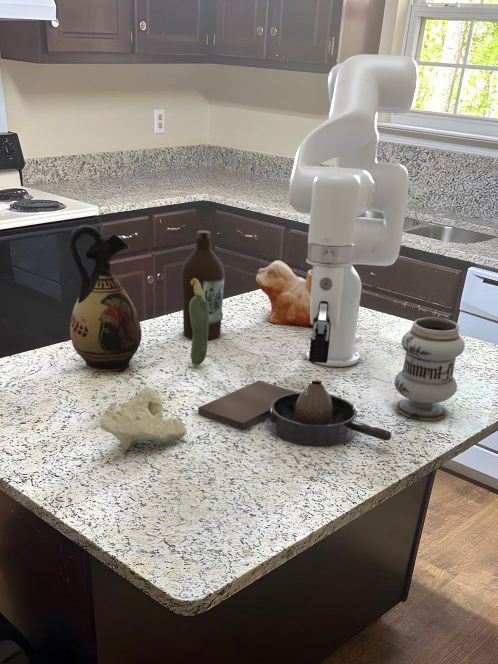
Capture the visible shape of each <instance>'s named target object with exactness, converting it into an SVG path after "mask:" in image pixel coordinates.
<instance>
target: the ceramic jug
mask: <svg viewBox="0 0 498 664" xmlns="http://www.w3.org/2000/svg"><path fill="white" fill-rule="evenodd" d="M87 236H88V237H92V238H93V239H94V242H93V243H92V244H91V245H90V247H89V248H88V250H87V252H86V254H85V257H86V258H87V259H89V260H93V261H94V264H93V268H92V271H91V272H90V274H89V273H88V270H87V269H86V266H85V265H84V262H83V260H82V257H81V253H80V251H79V246H78V243H79V240H80V239H81V238H84V237H87ZM130 248H131V247H130V246H129V245H128V244H127V243H126V242H125V241H124V240H123V239H122V238H121V237H119V236H118V235H117V234H115V233H114V232H113V231H111V232H110V233H109V234H108V235H107V236H106V237H105V238H104V237H103V236H102V234H101V232H100V231H99V229H97V228H96V227H94V226H92V225H88V224H80V225H78V226H76V227H74V229H72V231H71V234H70V237H69V249H70V250H69V251H70V253H71V256H72V259H73V262H74V264H75V267H76V269H77V272H78V274H79V276H80V280H81V282H80V285H79V293H78V298H77V300H76V302H75V304H74V306H73V310H72V313H71V317H70V327H69V334H70V340H71V344H72V347H73V349H74V351H75V352H76V353H77V355H79V357H81V359H82V360H83V361H84V362H85V368H86V369H88V370H90V371H94V372H98V373H103V374H113V373H114V374H115V373H116V374H118V373H119V374H120V373H124V372H125V371H126V370H127V369H129V368H130V366H131V365H130V362H131V361H132V359H133V357H134V356H135V355H136V353H137V352H138V350H139V347H140V345H141V340H142V335H143V334H142V328H141V327H142V326H141V323H140V318H139V314H138V312H137V309H136V307H135V305H134V303H133V301H132V299H131V298H130V296H129V295H128V293H127V292H126V290H125V288H124V287H123V285H122V284H121V283H120V281H119V280H118V278H117V277H116V276H115V274H114V273H113V271H112V268H111V260H112V259H113V258H114V257H115V256H117V255H119V254H121V253H123V252H125V251H127V250H129V249H130ZM67 372H68V371H67Z"/></svg>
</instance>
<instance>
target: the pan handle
mask: <svg viewBox="0 0 498 664" xmlns="http://www.w3.org/2000/svg"><path fill="white" fill-rule="evenodd" d="M349 428H350V429H351V430H354V431H355V432H357V433H360V434H363V435H367V436H369V437H371V438H375V439H378V440H381V441H383V442H386V441H387V442H388V441H389V440H391V439H392V433H391V431H390V430H387V429H384V428H380V427H378V426H374V425H371V424H368V423H365V422H361V421H358V420H356V421H355V420H352V421H351V422H350V423H349Z"/></svg>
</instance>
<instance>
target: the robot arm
mask: <svg viewBox="0 0 498 664" xmlns="http://www.w3.org/2000/svg"><path fill="white" fill-rule="evenodd" d="M419 77H420V75H419V68H418V63H417V62H416V60H415V59H413V58H412V57H410V56H408V55H398V54H367V53H365V54H356V55H352V56H350V57H348V58H346V59H345V60H344V61H342V62H340V63H337V64H335V65H334V66H333V67H332V68H331V69H330V71H329V73H328V78H327V93H328V100H329V105H330V106H329V107H330V109H329V114H328V119H326V120H324V121H323V122H322V123H320V124H319V125H318V126H316V127H315V128H314V129H313V130H312V131H310V132H309V134H308V135H307V136H306V137H305V138H303V140H302V141H301V143H300V145H299V146H298V148H297V151H296V154H295V156H294V160H293V164H292V165H293V166H292V170H291V173H290V178H289V179H290V180H289V187H288V201H289V204H290V207H291V208H292V209H293V210H294V211H295V212H298V213H300V214H307V215H309V222H308V223H309V224H308V237H307V245H306V246H307V247H306V249H307V250H306V257H305V258H306V259H305V262H306V263H307V265H308V264H309V265H310V266H312V269H313V271H312V283H311V297H310V323H311V324H312V325H313V328H312V335H311V338H310V344H309V348H308V349H307V350H306V353H305V357H306V359H307V360H308V362H310V363H314V364H317V365H320V366H326V367H335V368H336V367H337V368H338V367H340V368H341V367H349V366H353V365H356V364H357V363H358V362H360V357H361V356H360V353H358V352H357V351H356V350H355V346H356V345H357V344H359V343H361V342H362V337H361V335H359V334H357V328H358V327H357V326H358V319H359V312H360V305H361V296H362V288H363V287H362V286H363V285H362V281H361V277H360V275H359V273H358V272H357V271H356V269H355V268H354V266H353V265H366V266H375V267H377V266H378V267H379V266H380V267H388V266H392V265H393V264H395V263H396V261H397V260H398V258H399V255H400V251H401V246H402V241H403V240H402V239H403V232H404V225H405V217H406V209H407V203H408V197H409V188H410V187H409V185H410V181H409V180H410V179H409V173H408V170H407V168H406V167H405V166H404V165H402V164H400V163H396V162H382V161H377V153H378V144H379V140H380V139H379V138H380V136H379V131H378V129H377V119H378V113H379V114H407V113H409V112H410V111H411V110H412V108H413V106H414V105H415V102H416V99H417V96H418V91H419V79H420V78H419ZM333 159H334V165H333V166H324V165H323V166H322V165H321V164H322V163H324V162H327V161H329V160H333ZM366 212H378V213H380V214H382V216H383V218H371V217H363V216H362V215H363V214H365V213H366ZM356 334H357V335H356Z"/></svg>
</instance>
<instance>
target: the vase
mask: <svg viewBox="0 0 498 664" xmlns="http://www.w3.org/2000/svg"><path fill="white" fill-rule="evenodd" d="M301 392H302V393H301V394H300V395H299V397H298V399H297V402H296V406H295V414H296V419H297V421H298V423H303V424H310V425H326V424H327V423H328V422H329V420H330V418H331V414H332V401H331V398H330V396H329V395H330V394H329V392H328V391H327V390H326V388H325V385H324V383H323V381H320V380H311V381H310V382H309V383H308V385H307V386H306V387H305V388H304V389H303V390H302V391H301Z"/></svg>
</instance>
